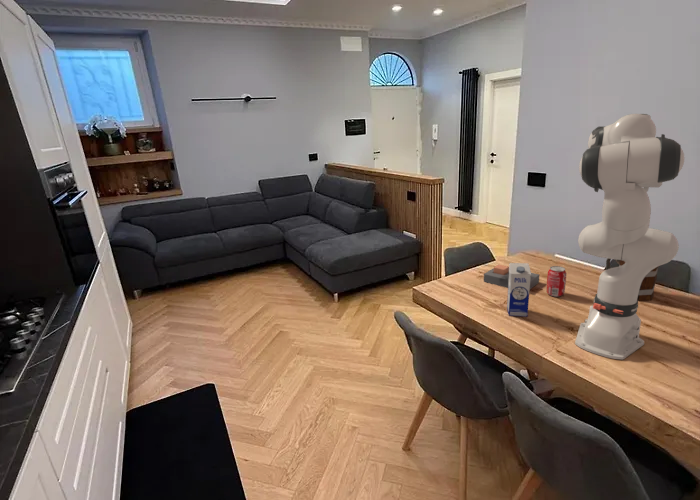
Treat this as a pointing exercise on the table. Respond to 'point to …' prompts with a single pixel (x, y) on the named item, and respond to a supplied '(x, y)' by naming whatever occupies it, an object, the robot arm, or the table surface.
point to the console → (506, 279)
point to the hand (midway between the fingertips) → (624, 198)
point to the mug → (647, 284)
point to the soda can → (556, 281)
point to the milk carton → (518, 289)
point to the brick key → (501, 269)
